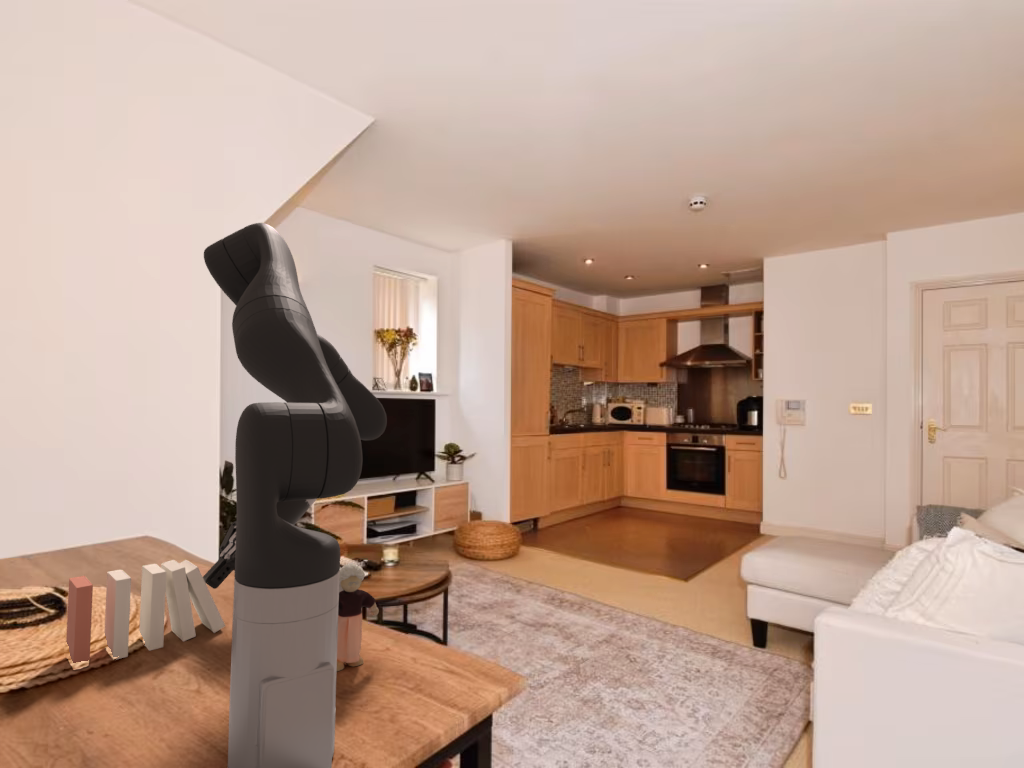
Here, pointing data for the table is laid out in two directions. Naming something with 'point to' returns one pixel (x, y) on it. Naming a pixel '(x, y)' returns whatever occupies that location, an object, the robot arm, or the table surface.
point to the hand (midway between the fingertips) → (208, 584)
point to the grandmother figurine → (351, 615)
